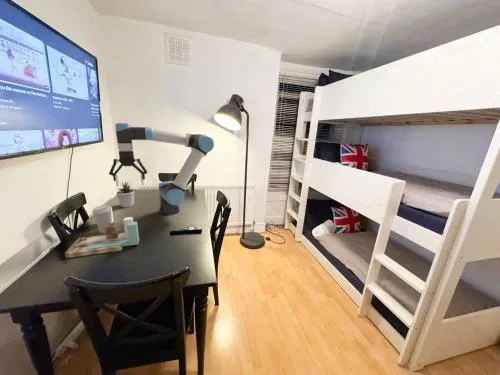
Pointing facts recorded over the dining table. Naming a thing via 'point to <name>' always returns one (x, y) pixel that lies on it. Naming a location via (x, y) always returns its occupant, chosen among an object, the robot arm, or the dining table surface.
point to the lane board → (80, 249)
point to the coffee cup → (102, 217)
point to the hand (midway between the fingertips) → (130, 185)
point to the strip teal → (132, 240)
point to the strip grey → (121, 236)
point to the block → (112, 231)
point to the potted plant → (126, 196)
